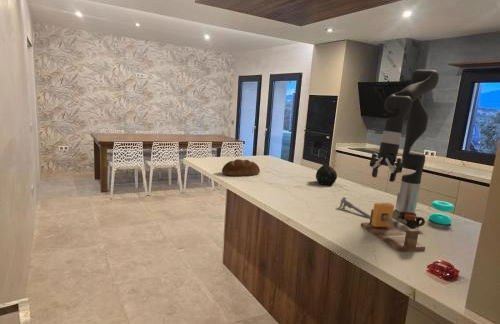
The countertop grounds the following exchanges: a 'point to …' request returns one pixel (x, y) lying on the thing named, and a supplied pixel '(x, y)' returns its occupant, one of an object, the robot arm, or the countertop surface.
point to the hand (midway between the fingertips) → (382, 179)
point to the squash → (326, 175)
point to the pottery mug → (411, 219)
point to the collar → (377, 213)
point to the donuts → (441, 217)
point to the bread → (240, 168)
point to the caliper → (352, 207)
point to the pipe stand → (395, 234)
